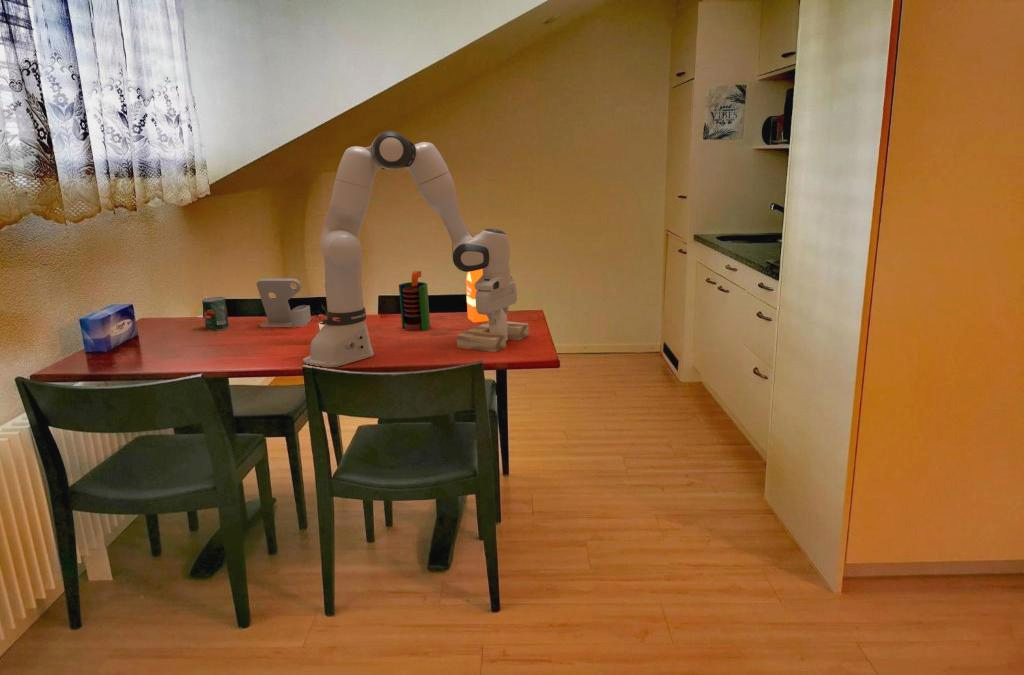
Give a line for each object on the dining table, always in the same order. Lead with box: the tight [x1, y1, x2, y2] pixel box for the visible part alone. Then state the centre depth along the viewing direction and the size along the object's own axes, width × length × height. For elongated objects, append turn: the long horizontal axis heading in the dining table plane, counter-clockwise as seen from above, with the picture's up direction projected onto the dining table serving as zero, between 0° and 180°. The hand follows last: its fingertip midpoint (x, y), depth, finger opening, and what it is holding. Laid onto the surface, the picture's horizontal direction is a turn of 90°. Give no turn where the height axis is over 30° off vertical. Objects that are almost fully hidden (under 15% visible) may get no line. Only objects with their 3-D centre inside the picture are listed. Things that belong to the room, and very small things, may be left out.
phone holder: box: [256, 278, 312, 328], centre depth 269 cm, size 17×10×18 cm, turn 81°
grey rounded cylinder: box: [489, 308, 509, 342], centre depth 236 cm, size 6×12×6 cm
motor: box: [398, 270, 431, 332], centre depth 257 cm, size 10×9×20 cm
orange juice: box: [465, 269, 489, 323], centre depth 267 cm, size 8×9×20 cm
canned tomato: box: [201, 296, 230, 332], centre depth 267 cm, size 8×8×11 cm
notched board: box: [456, 321, 530, 353], centre depth 238 cm, size 22×14×4 cm, turn 150°
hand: (498, 322), depth 236 cm, fingers closed on grey rounded cylinder, 5 cm apart
